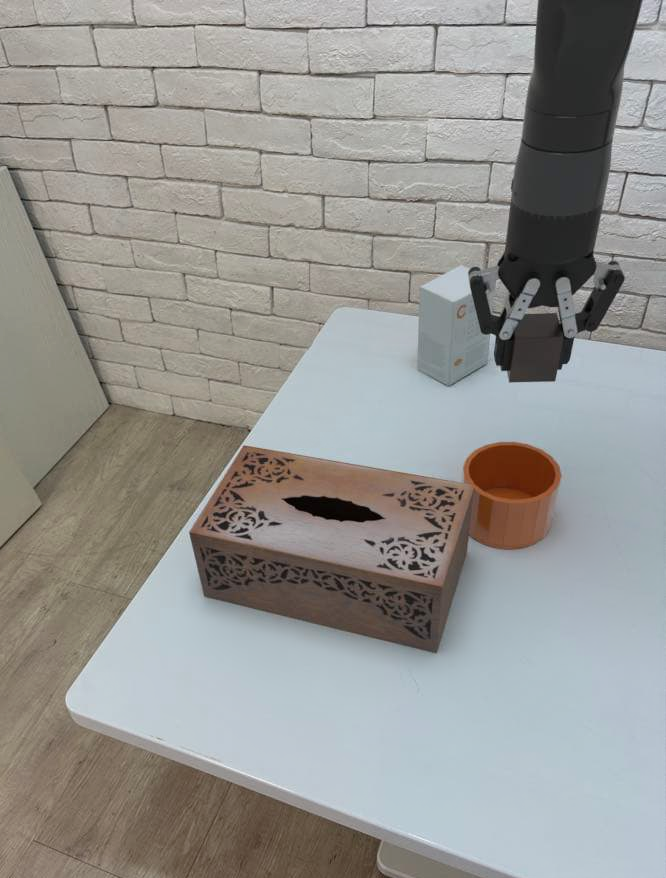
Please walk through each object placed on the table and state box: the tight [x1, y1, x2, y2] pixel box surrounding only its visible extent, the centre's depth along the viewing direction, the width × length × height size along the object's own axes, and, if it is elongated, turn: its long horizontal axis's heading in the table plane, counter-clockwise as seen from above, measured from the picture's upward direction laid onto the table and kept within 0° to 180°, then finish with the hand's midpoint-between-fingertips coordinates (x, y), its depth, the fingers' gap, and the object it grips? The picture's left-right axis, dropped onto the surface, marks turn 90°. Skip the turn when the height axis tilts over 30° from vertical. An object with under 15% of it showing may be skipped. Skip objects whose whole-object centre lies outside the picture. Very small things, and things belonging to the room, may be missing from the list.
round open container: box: [461, 441, 563, 550], centre depth 89 cm, size 10×10×7 cm
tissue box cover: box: [188, 444, 475, 654], centre depth 85 cm, size 26×14×10 cm, turn 68°
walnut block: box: [506, 312, 564, 383], centre depth 78 cm, size 4×4×5 cm
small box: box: [416, 264, 497, 387], centre depth 109 cm, size 8×6×13 cm
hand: (530, 365), depth 80 cm, fingers closed on walnut block, 4 cm apart
